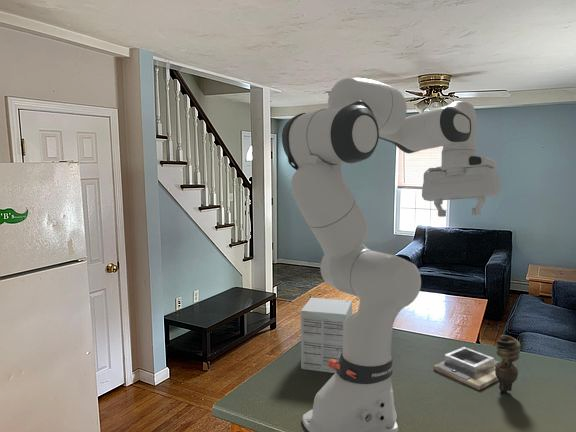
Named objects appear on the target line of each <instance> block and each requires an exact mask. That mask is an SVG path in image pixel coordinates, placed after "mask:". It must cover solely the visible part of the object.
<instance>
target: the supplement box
mask: <svg viewBox="0 0 576 432" xmlns="http://www.w3.org/2000/svg"><path fill="white" fill-rule="evenodd" d="M351 314H353V301H352V300H347V299H337V298H336V299H335V298H334V299H333V298H323V297H320V298H319V297H310V298H309V299H308V301H307V302H306V303H305V305H304V306H303V308H301V310H300V367H301V370H306V371H307V370H308V371H316V372H324V373H330V374H335V373H336V370H334V369H333V368H330V367H329V366H328V362H329V360H330V359H334V360H335V361H338V362H339V359H340V356H341V353H342V351H343V323H344V321H345V320H346V319H347V318H348V317H349V316H350V315H351Z"/></svg>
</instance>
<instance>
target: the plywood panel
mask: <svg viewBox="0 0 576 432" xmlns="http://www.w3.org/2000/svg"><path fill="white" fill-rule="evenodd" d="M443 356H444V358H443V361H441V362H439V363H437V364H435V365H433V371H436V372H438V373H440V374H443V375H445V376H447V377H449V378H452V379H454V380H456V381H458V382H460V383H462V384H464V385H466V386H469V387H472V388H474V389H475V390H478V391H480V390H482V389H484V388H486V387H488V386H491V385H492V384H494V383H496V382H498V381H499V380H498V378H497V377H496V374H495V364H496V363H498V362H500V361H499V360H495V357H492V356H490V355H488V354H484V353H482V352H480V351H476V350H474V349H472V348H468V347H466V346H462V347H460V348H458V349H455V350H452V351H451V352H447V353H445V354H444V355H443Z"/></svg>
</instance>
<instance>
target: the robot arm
mask: <svg viewBox="0 0 576 432" xmlns="http://www.w3.org/2000/svg"><path fill="white" fill-rule="evenodd" d="M407 108H408V107H407V102H406V98H405V96H404V94H403V93H402V92H401V91H400V90H399V89H397V88H395V87H394V86H392V85H389V84H386V83H383V82H380V81H377V80H373V79H370V78H362V77H344V78H342V79H340V80H338V81H337V82H336V83H335V84H334V85H333V87H332V88H331V90H330V91H329V95H328V99H327V108H321V109H316V110H313V111H312V110H311V111H308V112H302V113H299V114H296V115H295V116H293V117H291V118H290V119H288V121H286V122H285V124H284V126H283V128H282V131H281V142H282V147H283V151H284V154H285V156H286V157H287V162H288V164H289V165H290V167H292V168H293V169H294V170H296V171H295V172H294V173H293V175H292V177H291V180H290V181H291V182H290V188H291V191H292V194H293V197H294V200H295V202H296V205H297V207H298V209H299V211H300V213H301V215H302V217H303V219H304V220H305V222H306V224H307V225H308V227H309V228H310V230H311V231H312V234H313V235H314V237H315V239H316V241H317V242H318V244H319V246H320V247H321V250H322V251H323V254H324V255H323V256H322V259H321V262H320V275H321V277H322V279H323V281H324V282H326V284H328V285H330V286H331V287H332V288H334V289H336V290H337V291H339V292H341V293H344V294H348V295H350V296H354V297H358V301H359V305H358V308H357V309H358V310H357V311H356V312H352V314H351V315H350V316H349V317H348V318H347V319H346V320H345V321H344V323H343V351H342V353H341V356H340V359H339V362H338V361H335V360H334V359H330V360H329V362H328V366H329V367H330V368H333V369H334V370H336V373H333V375H332V376H331V377H330V378H329V379H328V380H327V381H326V382H325V383H324V385H323V386H322V387H321V388H320V389H319V390H318V391H317V393H316V394H315V396H314V399H313V404H312V405H313V406H312V409H310V410H309V411H307V412H305V413H304V414H302V424H303V426H304V427H305V429H306V430H307V431H308V432H399V426H398V422H397V419H398V415H397V410H396V407H395V397H394V389H393V384H392V375H393V370H394V364H393V356H392V354H391V353H392V337H393V327H394V323H395V321H396V318H397V317H398V314H399V313H400V312H401V311H402V310H403V309H404V308H406V307H408V306H409V305H411V304H412V303H413V302H415V300H416V299H417V298H418V296H419V293H420V291H421V287H422V277H421V273H420V270H419V268H418V267H417V265H416V264H415V263H413V262H411V261H409V260H407V259H405V258H403V257H400V256H398V255H395V254H390V253H386V252H381V251H376V250H372V249H370V248H368V247H367V246H366V245H365V244H364V242H365V241H366V240H367V236H368V235H369V234H368V233H369V228H370V227H369V223H368V221H367V218H366V217H365V215H364V214H363V212H362V210H361V207H360V206H359V204H358V202H357V200H356V198H355V196H354V195H353V192H352V191H351V190H350V188H349V186H348V185H347V183H346V182H345V180H344V177H343V173H342V165H343V164H355V163H359V162H362V161H365V160H367V159H368V158H370V157H371V156H372V155H373V153H374V152H375V150H376V148H377V145H378V143H379V140H383V141H386V142H388V143H391V144H393V145H395V146H396V148H398V149H399V151H402V152H404V153H406V154H413V153H416V152H420V151H424V150H429V149H435V148H439V147H442V150H441V165H440V166H436V167H429V168H427V170H425V172H424V173H423V184H422V187H421V188H422V190H421V197H422V199H423V200H424V201H427V202H433V204H434V207H435V209H436V210H437V216H438V217H440V218H441V217H442V218H443V217H447V210H446V209H444V208H443V206H442V205H443V201H451V200H452V201H453V200H465V199H467V200H468V199H475V201H476V202H477V203H476V205H475V206H474V207H472V208H471V215H472V216H480V215H481V214H482V213H481V209H482V208H483V206H484V204H485V203H486V198H494V197H496V198H497V197H498V196H499V195H500V193H501V180H500V174H499V172H498V171H497V170H496V168H497V165H498V163H497V161H496V160H494V159H492V158H491V157H487V156H482V155H478V149H477V146H476V142H477V139H478V123H477V114H476V110H475V107H474V105H473V104H471V103H470V102H468V101H462V100H461V101H460V100H459V101H458V100H457V101H452V102H449V103H448V104H447V105H446V106H442V107H438V108H435V109H431V110H427V111H423V112H420V113H417V114H413V115H407V110H408V109H407Z"/></svg>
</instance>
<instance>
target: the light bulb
mask: <svg viewBox="0 0 576 432" xmlns="http://www.w3.org/2000/svg"><path fill="white" fill-rule="evenodd" d="M499 338H500V339H497V340H496V347H495V348H496V350H497V351H496V354H497V356H498V357H500V358H501V361H499V362H498V363H496V364H495V374H496V377H497V378H498V381H499V387H498V389H499V390H500V391H501V393H502V394H505V393H506V394H507V392H511V391H512V388H513V384H514V383H515V382H516V381H517V379H518V376H519V367H518V366H517V365H516V364H513V363H515V362H517V361H518V360H519V359H520V353H521V347H522V346H521V342H520V341H519V340H518V339H516V338H514V337H512V336H511V335H507V334H501V335H500V336H499Z"/></svg>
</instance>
